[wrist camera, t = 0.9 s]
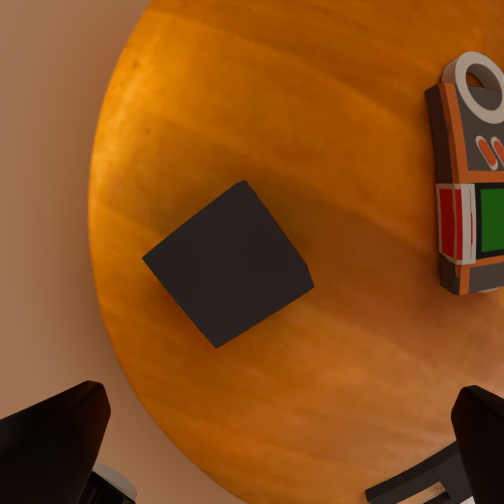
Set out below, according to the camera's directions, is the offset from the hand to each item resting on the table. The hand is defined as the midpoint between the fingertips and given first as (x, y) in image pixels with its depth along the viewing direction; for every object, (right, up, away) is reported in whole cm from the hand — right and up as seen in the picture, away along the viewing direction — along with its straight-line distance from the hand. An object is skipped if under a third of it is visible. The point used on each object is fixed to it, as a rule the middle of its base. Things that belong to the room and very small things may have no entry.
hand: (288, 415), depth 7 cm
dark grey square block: (-2, +4, +12) cm, 13 cm away
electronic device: (+14, +9, +10) cm, 19 cm away
